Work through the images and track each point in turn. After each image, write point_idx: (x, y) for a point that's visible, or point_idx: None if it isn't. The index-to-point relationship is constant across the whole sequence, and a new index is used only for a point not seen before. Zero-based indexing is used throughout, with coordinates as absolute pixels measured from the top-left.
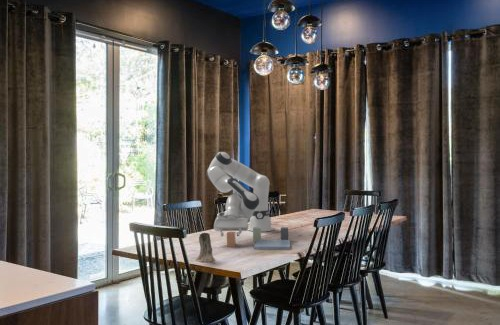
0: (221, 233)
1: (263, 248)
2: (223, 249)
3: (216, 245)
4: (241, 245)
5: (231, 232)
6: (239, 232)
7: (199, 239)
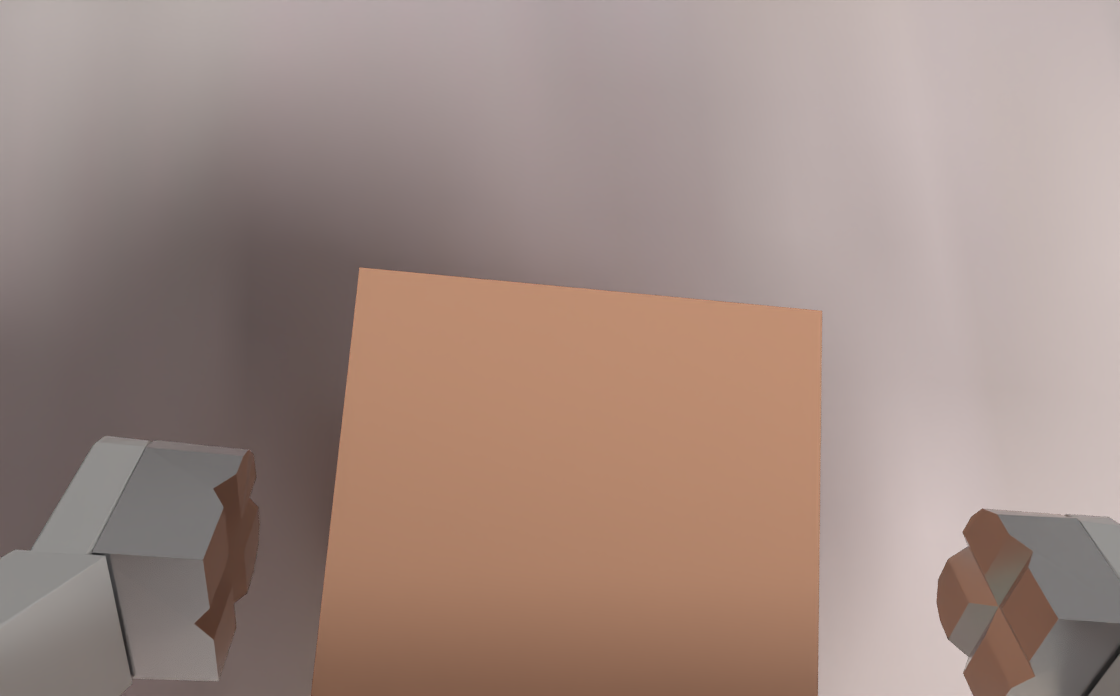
0: (1117, 565)
1: None
2: (722, 64)
3: None
4: None
5: (560, 502)
6: (26, 555)
7: None
